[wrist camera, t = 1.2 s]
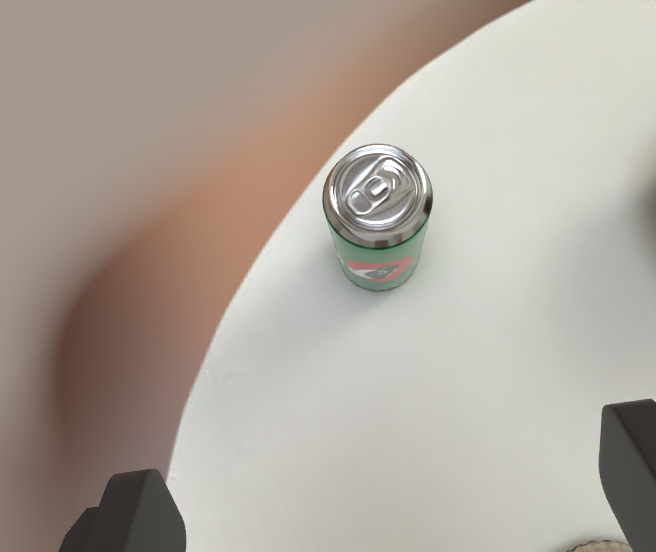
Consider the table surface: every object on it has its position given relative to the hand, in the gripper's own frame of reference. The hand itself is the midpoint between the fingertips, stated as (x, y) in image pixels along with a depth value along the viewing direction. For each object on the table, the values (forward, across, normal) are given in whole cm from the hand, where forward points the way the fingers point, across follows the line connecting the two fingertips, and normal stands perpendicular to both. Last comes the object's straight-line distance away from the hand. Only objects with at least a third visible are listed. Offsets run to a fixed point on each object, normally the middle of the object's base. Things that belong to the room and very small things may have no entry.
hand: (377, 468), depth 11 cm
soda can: (+26, -1, +10) cm, 28 cm away
